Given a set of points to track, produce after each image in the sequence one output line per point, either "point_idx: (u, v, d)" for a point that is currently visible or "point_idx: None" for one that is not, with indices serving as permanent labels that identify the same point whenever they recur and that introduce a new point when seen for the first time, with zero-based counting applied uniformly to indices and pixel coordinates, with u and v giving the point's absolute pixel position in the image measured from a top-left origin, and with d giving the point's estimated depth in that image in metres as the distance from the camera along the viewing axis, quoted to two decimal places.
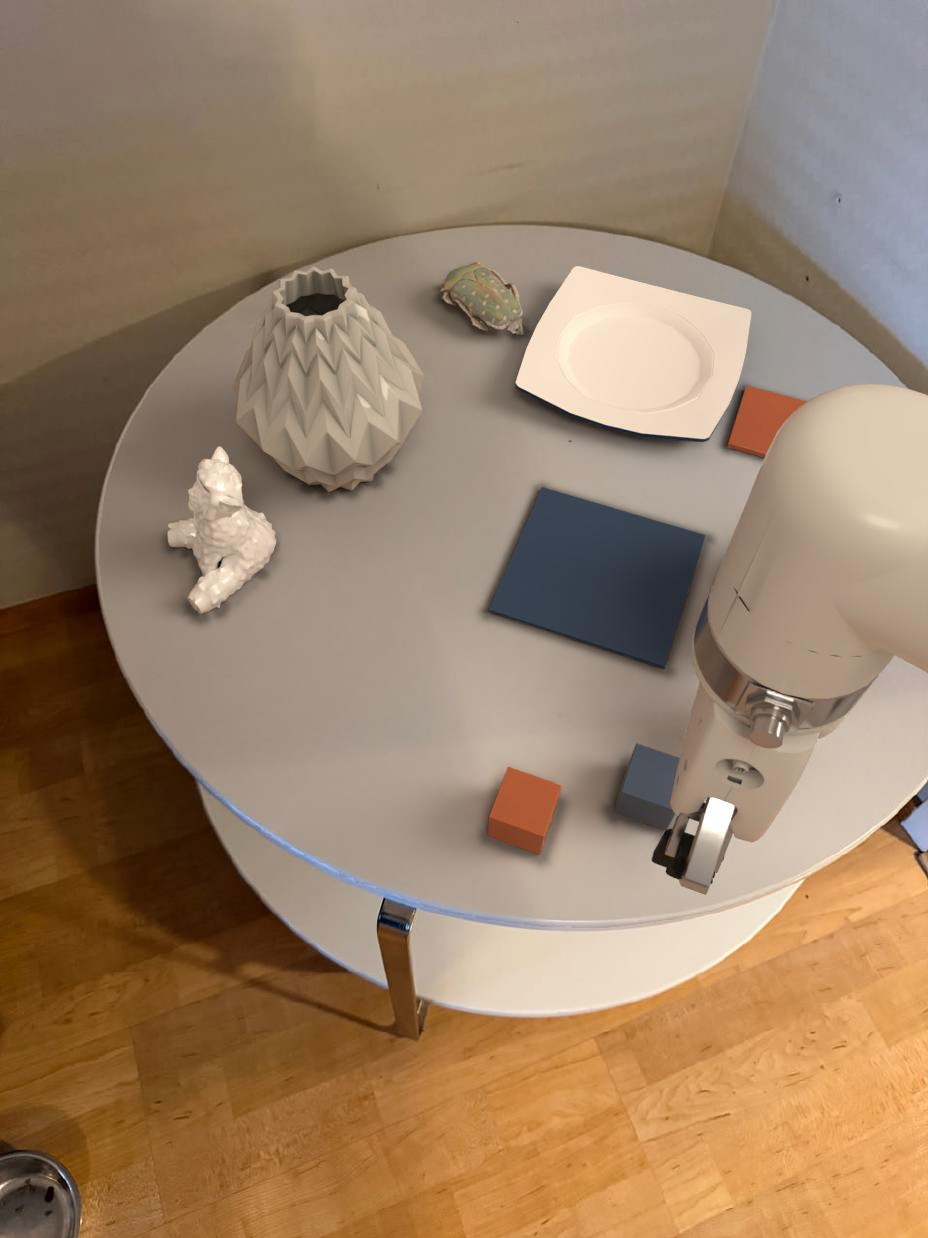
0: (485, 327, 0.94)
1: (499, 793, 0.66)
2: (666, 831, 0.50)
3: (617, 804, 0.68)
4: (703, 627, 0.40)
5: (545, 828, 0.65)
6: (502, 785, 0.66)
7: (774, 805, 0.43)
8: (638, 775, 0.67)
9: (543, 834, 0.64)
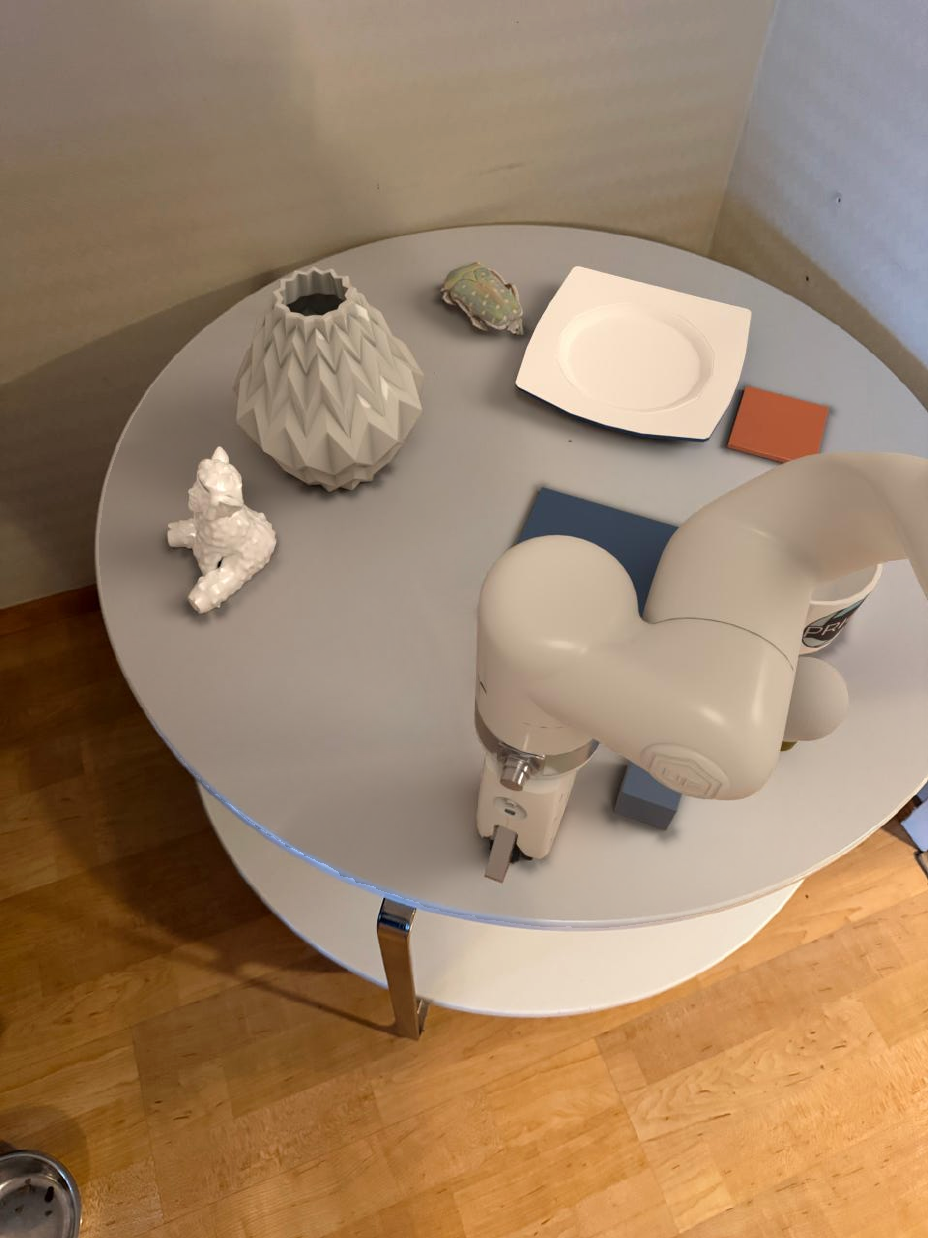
0: (485, 327, 0.94)
1: None
2: None
3: (617, 804, 0.68)
4: None
5: None
6: None
7: (541, 831, 0.55)
8: (638, 775, 0.67)
9: None
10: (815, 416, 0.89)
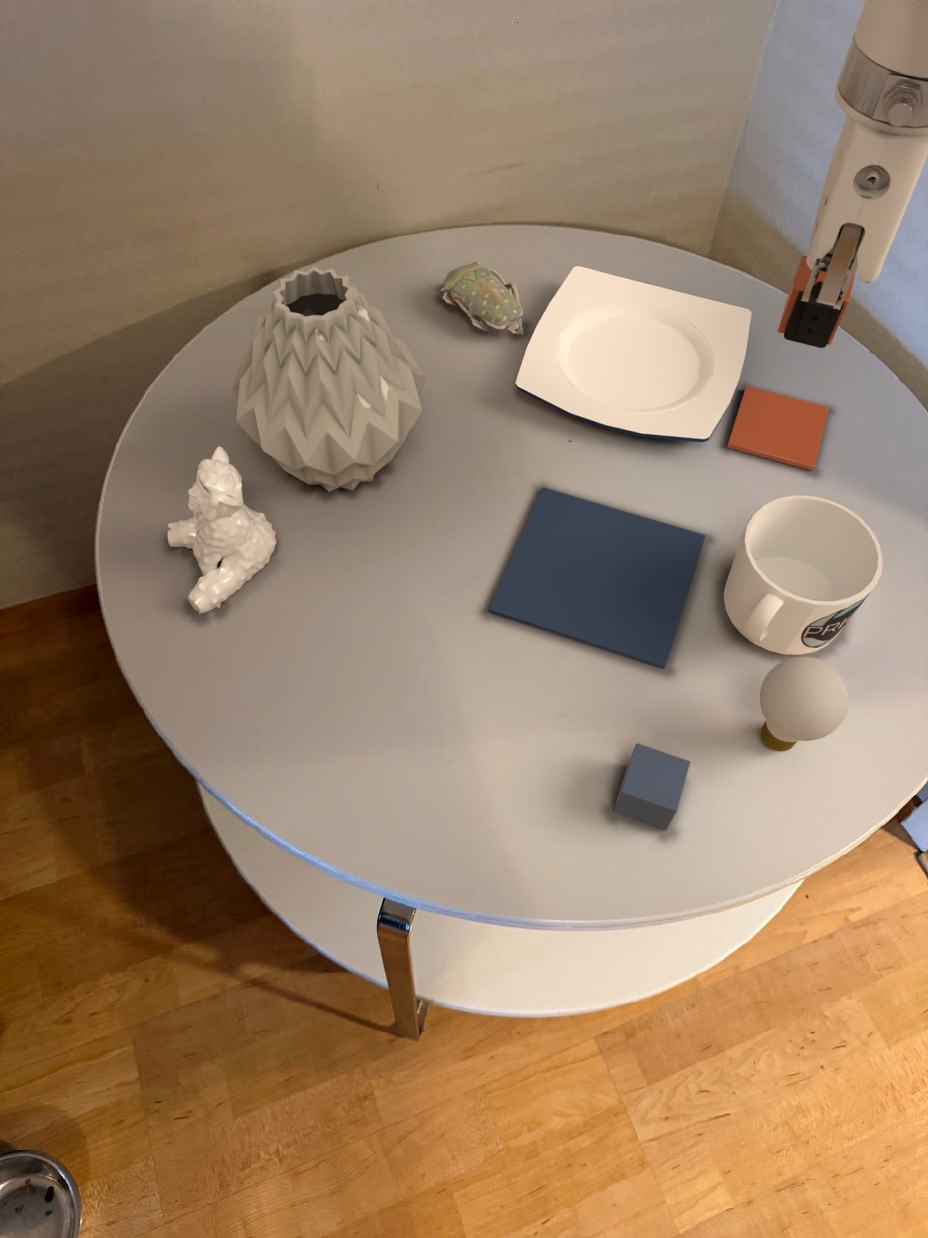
0: (485, 327, 0.94)
1: (799, 273, 0.69)
2: (800, 291, 0.68)
3: (617, 804, 0.68)
4: (849, 59, 0.56)
5: (848, 296, 0.68)
6: (800, 267, 0.69)
7: (894, 216, 0.58)
8: (638, 775, 0.67)
9: (848, 300, 0.67)
10: (815, 416, 0.89)
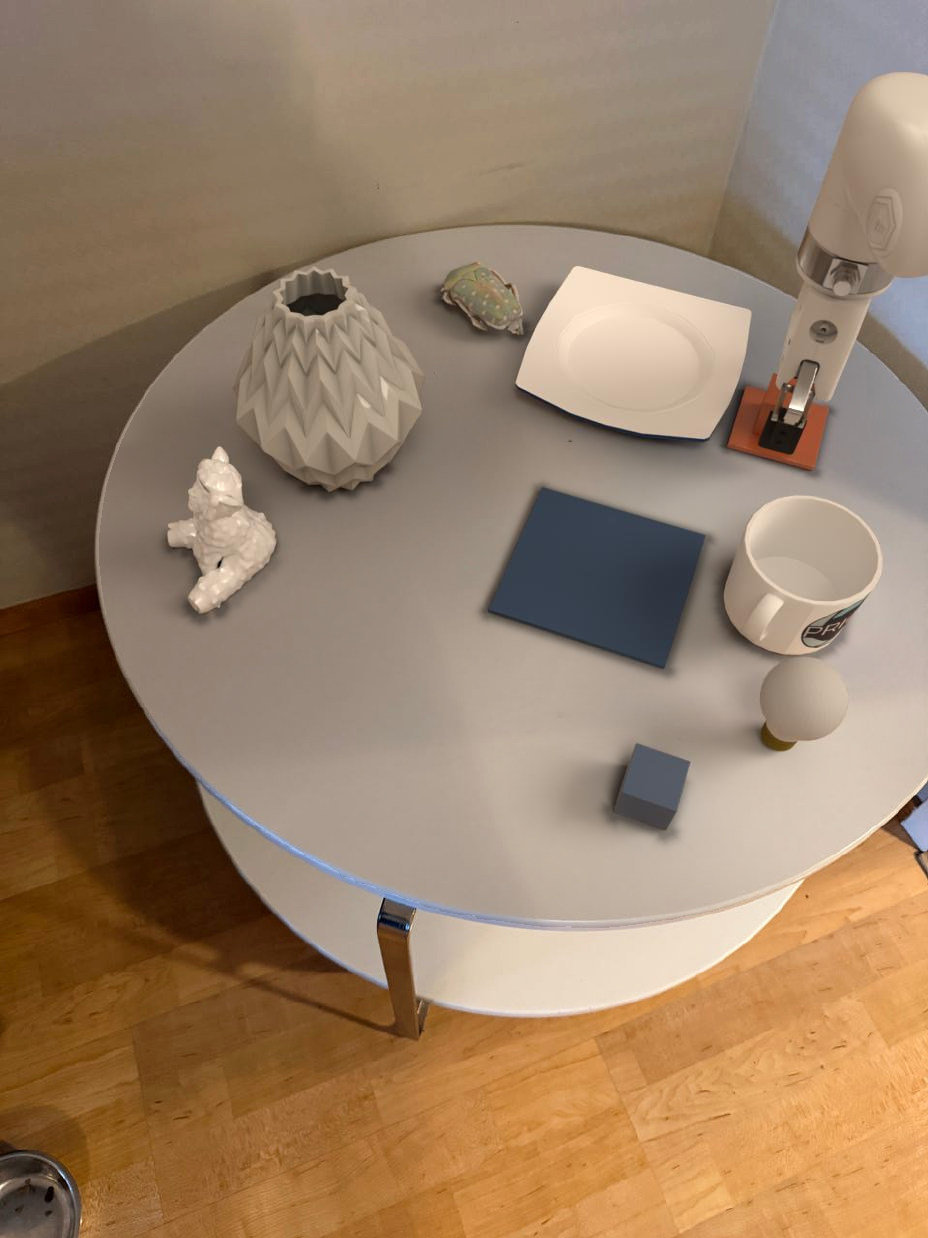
0: (485, 327, 0.94)
1: (769, 388, 0.86)
2: (770, 411, 0.82)
3: (617, 804, 0.68)
4: (805, 240, 0.72)
5: None
6: (771, 383, 0.86)
7: (842, 356, 0.75)
8: (638, 775, 0.67)
9: None
10: (815, 416, 0.89)
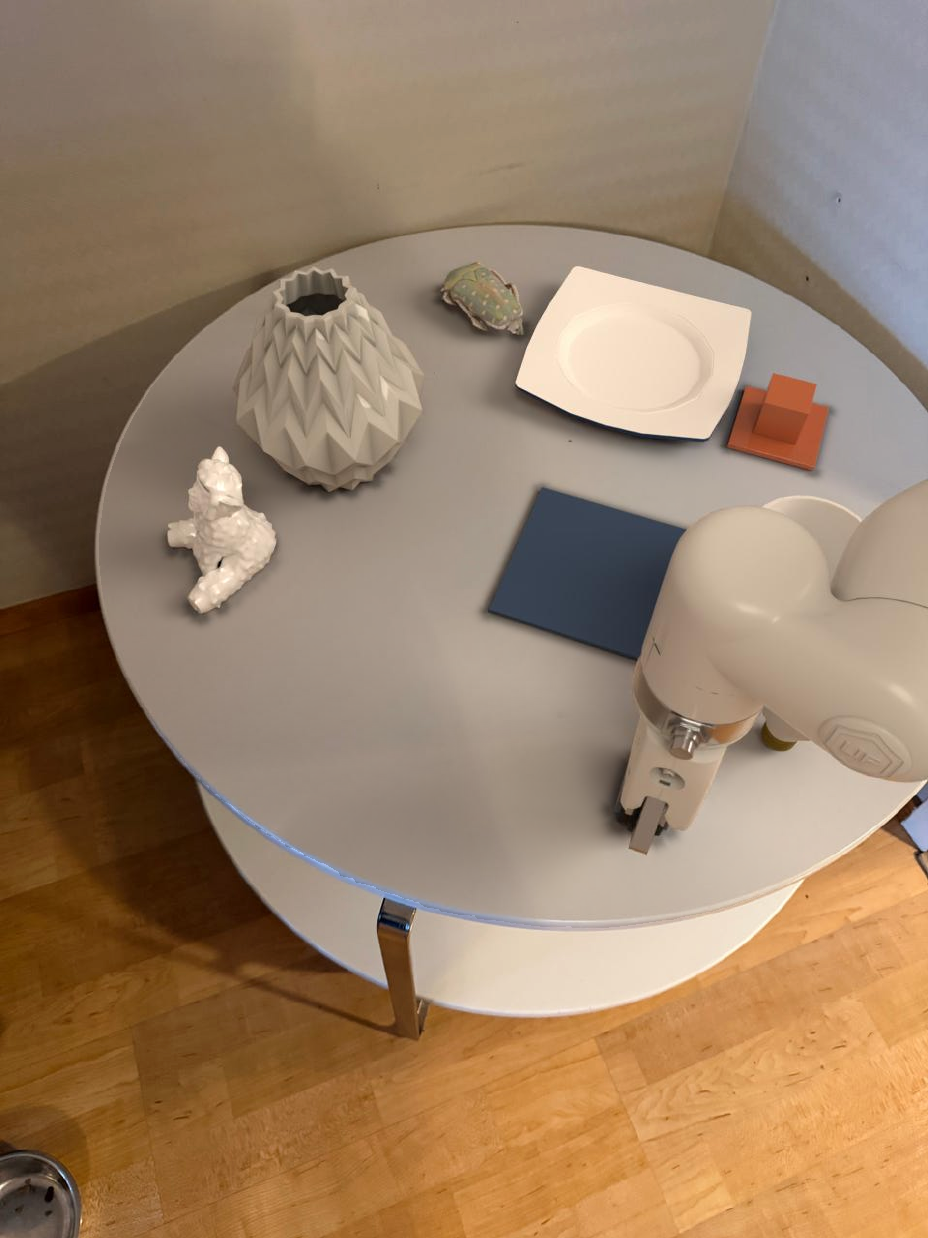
0: (485, 327, 0.94)
1: (769, 388, 0.86)
2: None
3: (617, 804, 0.68)
4: (638, 669, 0.54)
5: (809, 409, 0.84)
6: (771, 383, 0.86)
7: (695, 802, 0.56)
8: None
9: (808, 412, 0.84)
10: (815, 416, 0.89)
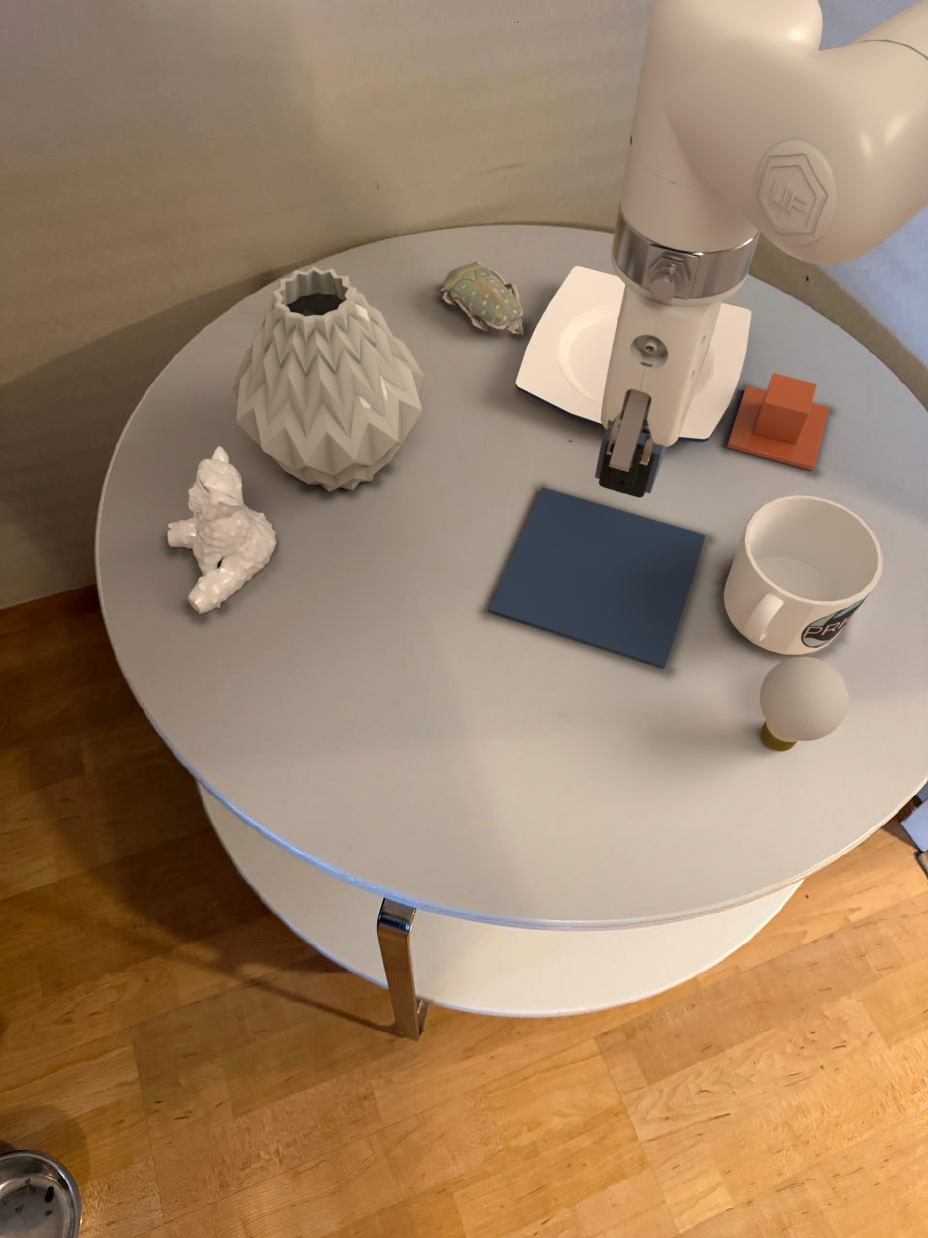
0: (485, 327, 0.94)
1: (769, 388, 0.86)
2: (608, 442, 0.62)
3: (598, 462, 0.64)
4: (617, 220, 0.50)
5: (809, 409, 0.84)
6: (771, 383, 0.86)
7: (679, 386, 0.53)
8: None
9: (808, 412, 0.84)
10: (815, 416, 0.89)
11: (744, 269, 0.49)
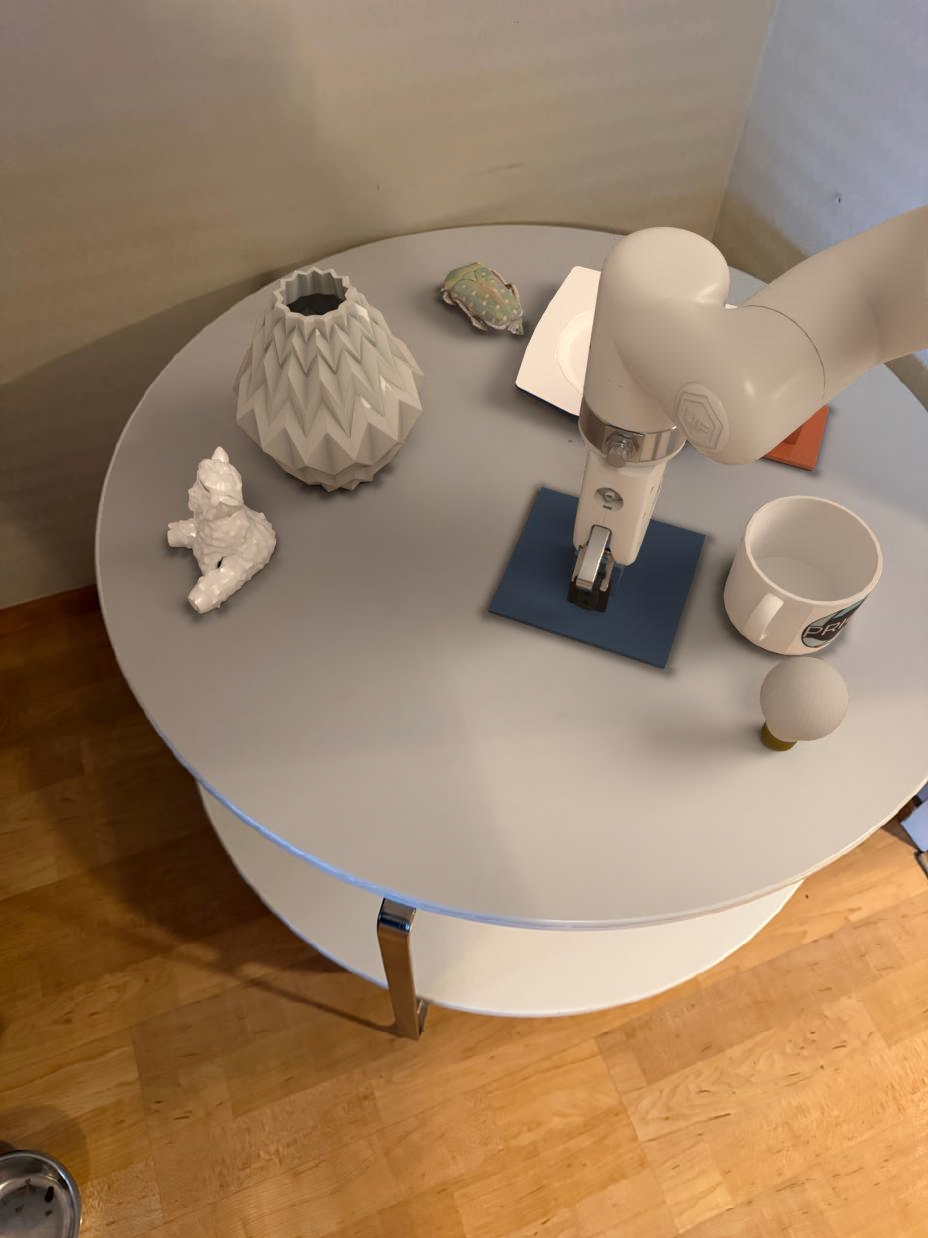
0: (485, 327, 0.94)
1: None
2: (573, 569, 0.73)
3: None
4: (582, 399, 0.63)
5: None
6: None
7: (633, 524, 0.66)
8: None
9: None
10: (815, 416, 0.89)
11: (682, 439, 0.63)
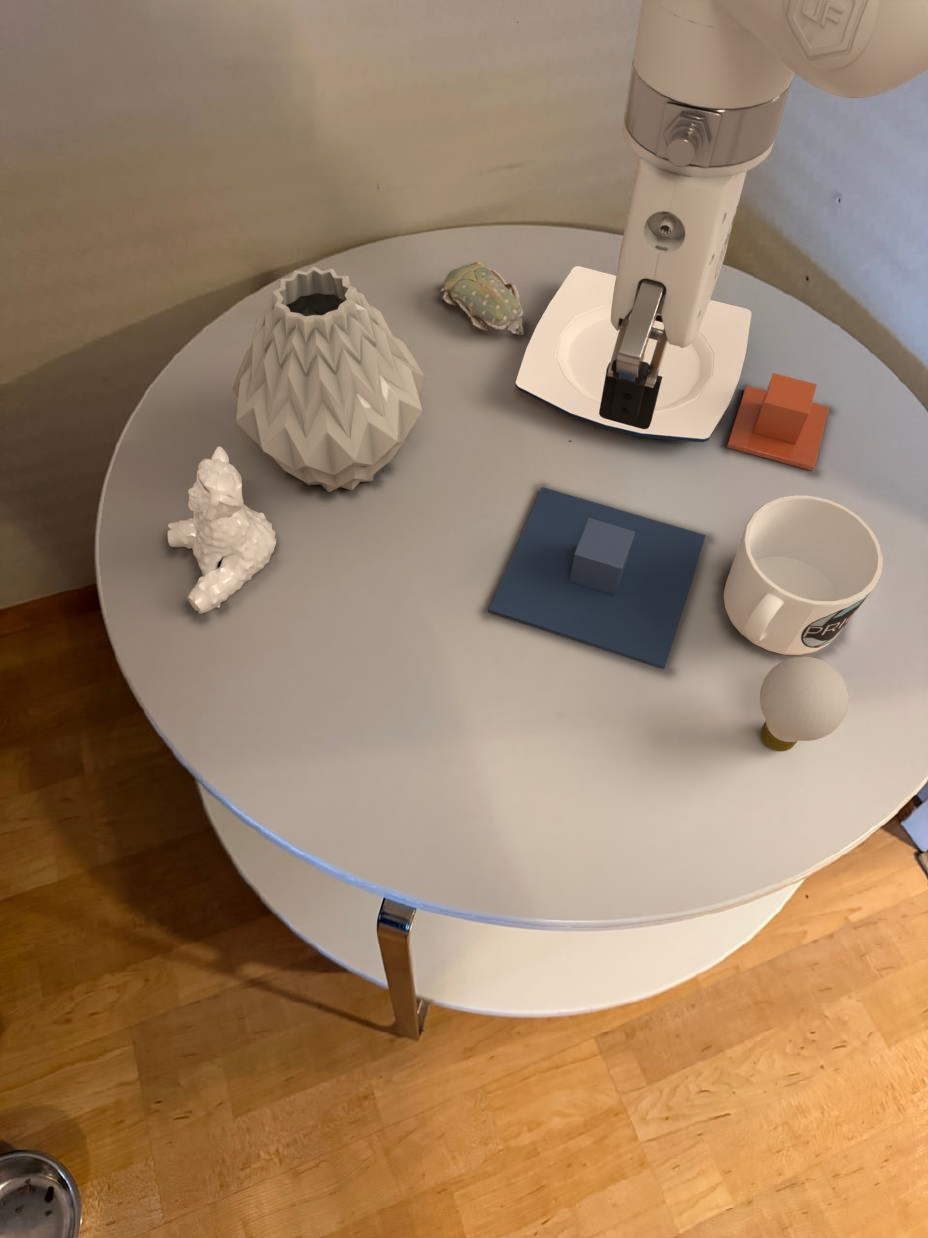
0: (485, 327, 0.94)
1: (769, 388, 0.86)
2: (609, 363, 0.55)
3: (572, 571, 0.78)
4: (630, 83, 0.45)
5: (809, 409, 0.84)
6: (771, 383, 0.86)
7: (697, 272, 0.48)
8: (589, 541, 0.77)
9: (808, 412, 0.84)
10: (815, 416, 0.89)
11: (770, 135, 0.45)
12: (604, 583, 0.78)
